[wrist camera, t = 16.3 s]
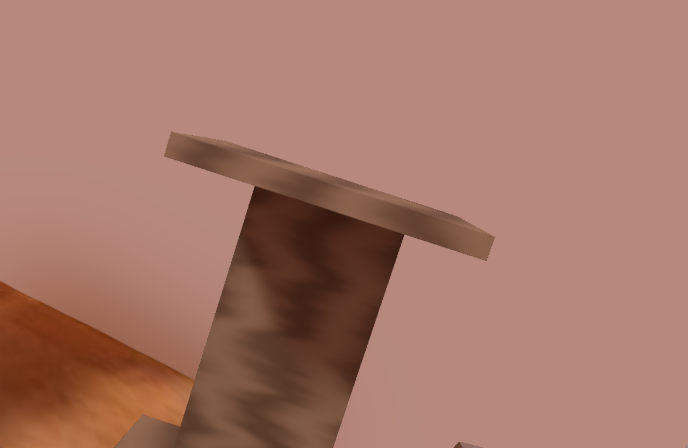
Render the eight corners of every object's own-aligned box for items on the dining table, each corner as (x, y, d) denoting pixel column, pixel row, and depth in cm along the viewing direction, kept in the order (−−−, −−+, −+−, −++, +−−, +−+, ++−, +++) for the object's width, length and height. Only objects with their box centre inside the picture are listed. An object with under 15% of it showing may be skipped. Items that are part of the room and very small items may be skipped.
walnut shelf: (54, 530, 40) (171, 131, 37) (137, 430, 55) (225, 141, 52) (357, 628, 40) (494, 236, 38) (358, 502, 55) (456, 216, 52)
